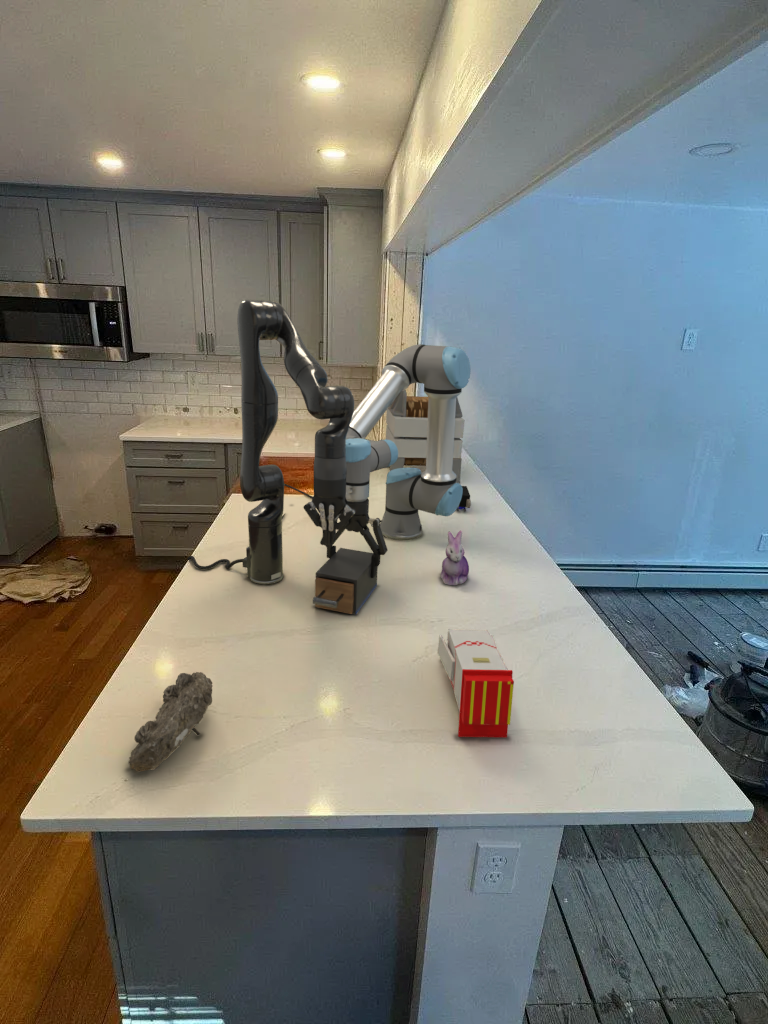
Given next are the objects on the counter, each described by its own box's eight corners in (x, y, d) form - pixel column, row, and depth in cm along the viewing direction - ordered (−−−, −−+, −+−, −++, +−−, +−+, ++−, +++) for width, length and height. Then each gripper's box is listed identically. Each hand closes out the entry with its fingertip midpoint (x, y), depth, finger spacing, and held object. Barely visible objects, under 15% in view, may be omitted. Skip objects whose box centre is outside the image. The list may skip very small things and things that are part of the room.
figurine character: (470, 516, 223) (465, 500, 237) (473, 499, 220) (467, 484, 233) (453, 516, 223) (449, 500, 236) (455, 498, 220) (451, 483, 233)
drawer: (342, 626, 139) (343, 597, 136) (305, 618, 142) (304, 589, 139) (371, 586, 159) (372, 560, 156) (338, 580, 162) (338, 554, 159)
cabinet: (356, 614, 146) (357, 580, 143) (315, 606, 149) (315, 572, 146) (376, 585, 162) (378, 553, 159) (339, 578, 165) (340, 547, 162)
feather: (292, 507, 224) (294, 503, 223) (275, 531, 197) (278, 527, 197) (288, 505, 224) (291, 501, 223) (271, 528, 197) (273, 524, 197)
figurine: (450, 589, 161) (455, 540, 156) (431, 574, 170) (435, 528, 165) (477, 583, 166) (482, 536, 161) (457, 569, 174) (462, 523, 169)
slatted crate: (382, 463, 289) (386, 382, 275) (445, 464, 293) (451, 384, 279) (390, 482, 257) (394, 392, 243) (460, 483, 261) (468, 394, 247)
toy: (488, 613, 130) (523, 677, 101) (484, 667, 133) (517, 744, 104) (435, 612, 130) (455, 676, 101) (432, 666, 133) (451, 743, 103)
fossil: (162, 673, 113) (214, 640, 108) (196, 704, 116) (248, 673, 111) (102, 765, 93) (163, 730, 88) (145, 799, 96) (206, 767, 91)
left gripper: (296, 474, 129) (297, 545, 135) (351, 482, 125) (349, 553, 131) (310, 466, 136) (310, 534, 141) (362, 473, 132) (360, 542, 138)
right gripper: (307, 495, 150) (307, 570, 157) (393, 508, 143) (389, 585, 151) (319, 488, 156) (318, 560, 164) (401, 499, 150) (397, 573, 158)
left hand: (329, 543), depth 136 cm, fingers closed
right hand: (352, 572), depth 157 cm, fingers closed on cabinet, 11 cm apart
